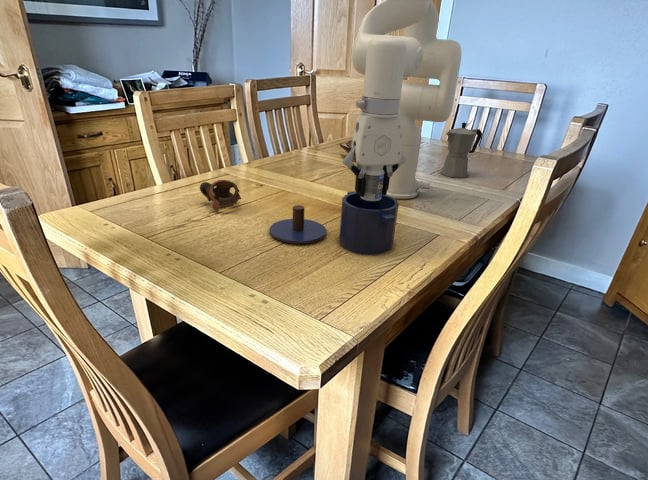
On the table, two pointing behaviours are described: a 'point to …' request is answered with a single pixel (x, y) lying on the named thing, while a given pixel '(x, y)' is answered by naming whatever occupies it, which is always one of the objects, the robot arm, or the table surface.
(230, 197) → the pottery mug
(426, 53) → the robot arm
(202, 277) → the table surface
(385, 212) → the pot
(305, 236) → the lid
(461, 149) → the coffeepot
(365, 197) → the pill bottle
